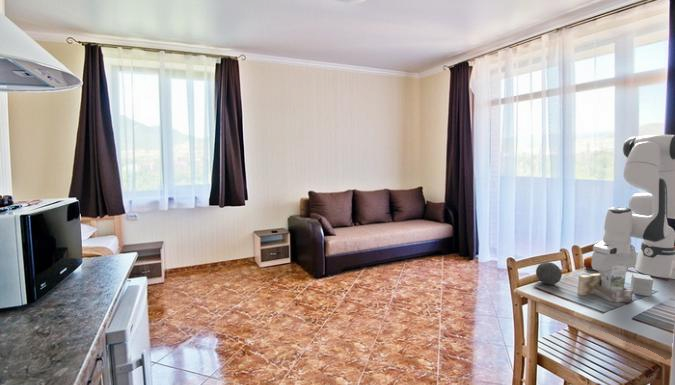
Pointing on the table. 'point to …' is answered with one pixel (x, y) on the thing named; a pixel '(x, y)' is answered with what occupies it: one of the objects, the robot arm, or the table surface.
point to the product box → (641, 284)
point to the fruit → (588, 263)
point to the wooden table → (601, 289)
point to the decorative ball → (548, 273)
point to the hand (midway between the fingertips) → (612, 278)
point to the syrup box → (615, 278)
